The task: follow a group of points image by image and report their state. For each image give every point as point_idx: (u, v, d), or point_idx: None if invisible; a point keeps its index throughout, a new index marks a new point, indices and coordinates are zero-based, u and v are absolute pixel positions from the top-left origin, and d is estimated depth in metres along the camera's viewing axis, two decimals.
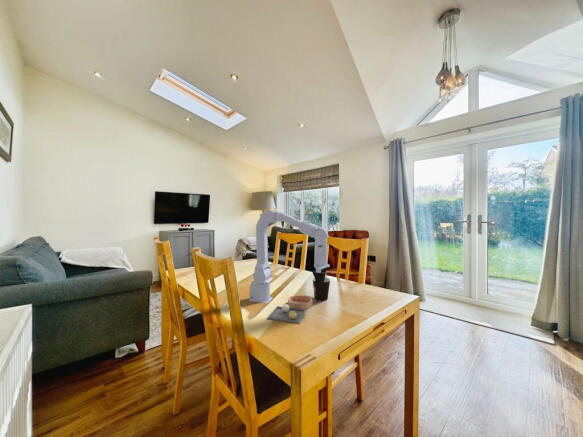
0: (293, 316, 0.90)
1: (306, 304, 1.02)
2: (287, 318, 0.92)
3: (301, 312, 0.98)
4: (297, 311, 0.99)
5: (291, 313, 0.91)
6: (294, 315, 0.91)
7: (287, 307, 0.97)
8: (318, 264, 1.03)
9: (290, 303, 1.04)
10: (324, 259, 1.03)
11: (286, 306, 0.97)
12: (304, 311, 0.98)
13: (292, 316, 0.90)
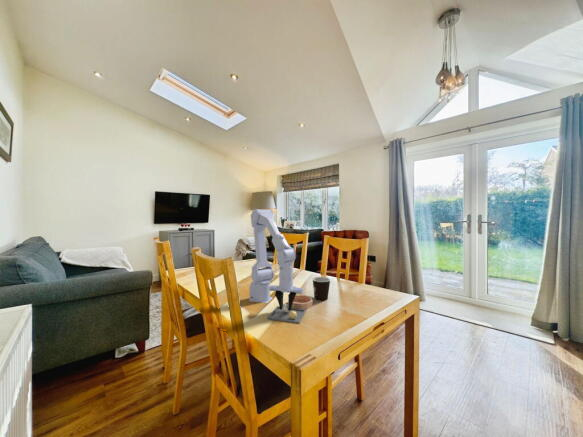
0: (293, 316, 0.90)
1: (306, 304, 1.02)
2: (287, 318, 0.92)
3: (301, 312, 0.98)
4: (297, 311, 0.99)
5: (291, 313, 0.91)
6: (294, 315, 0.91)
7: (287, 307, 0.97)
8: None
9: None
10: (280, 281, 0.97)
11: (286, 306, 0.97)
12: (304, 311, 0.98)
13: (292, 316, 0.90)
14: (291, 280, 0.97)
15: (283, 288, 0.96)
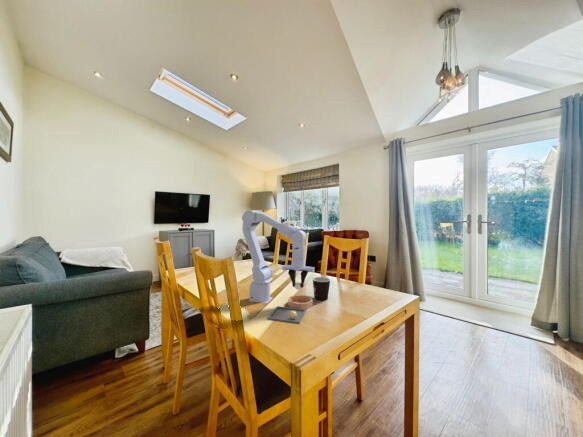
0: (293, 316, 0.90)
1: (306, 304, 1.02)
2: (287, 318, 0.92)
3: (301, 312, 0.98)
4: (297, 311, 0.99)
5: (291, 313, 0.91)
6: (294, 315, 0.91)
7: (299, 285, 1.05)
8: None
9: (290, 303, 1.04)
10: (292, 260, 1.05)
11: (298, 284, 1.05)
12: (304, 311, 0.98)
13: (292, 316, 0.90)
14: (303, 259, 1.04)
15: (296, 266, 1.03)
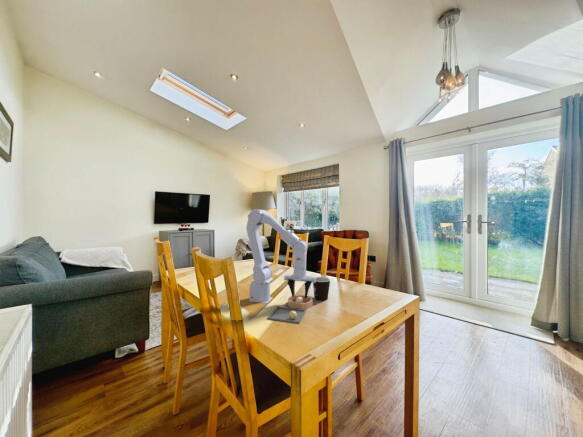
0: (293, 316, 0.90)
1: (306, 304, 1.02)
2: (287, 318, 0.92)
3: (301, 312, 0.98)
4: (297, 311, 0.99)
5: (291, 313, 0.91)
6: (294, 315, 0.91)
7: (301, 299, 1.07)
8: None
9: (290, 303, 1.04)
10: (294, 271, 1.06)
11: (300, 298, 1.07)
12: (304, 311, 0.98)
13: (292, 316, 0.90)
14: (305, 270, 1.06)
15: (297, 277, 1.05)
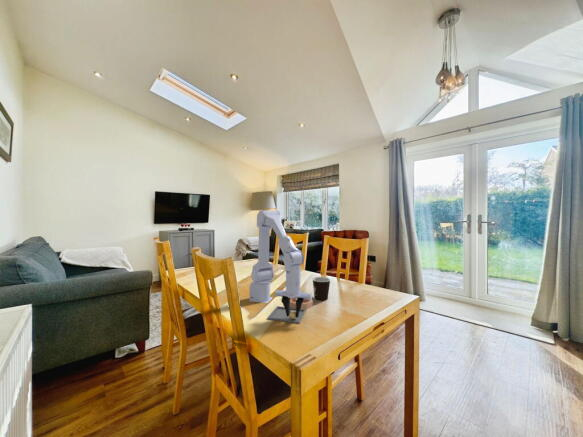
0: (293, 316, 0.90)
1: (306, 304, 1.02)
2: (287, 318, 0.92)
3: (301, 312, 0.98)
4: None
5: (291, 313, 0.91)
6: (294, 315, 0.91)
7: None
8: None
9: (290, 303, 1.04)
10: (286, 286, 0.90)
11: None
12: (304, 311, 0.98)
13: (292, 316, 0.90)
14: (299, 285, 0.90)
15: (290, 293, 0.89)
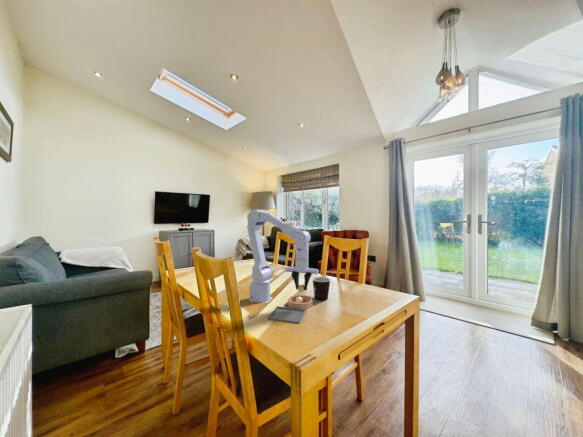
0: (302, 289, 1.01)
1: (306, 304, 1.02)
2: (287, 318, 0.92)
3: (301, 312, 0.98)
4: (297, 311, 0.99)
5: (300, 286, 1.02)
6: (303, 288, 1.02)
7: (300, 299, 1.07)
8: None
9: (290, 303, 1.04)
10: (296, 262, 1.01)
11: (299, 298, 1.07)
12: (304, 311, 0.98)
13: (301, 289, 1.01)
14: (307, 261, 1.01)
15: (299, 268, 1.00)
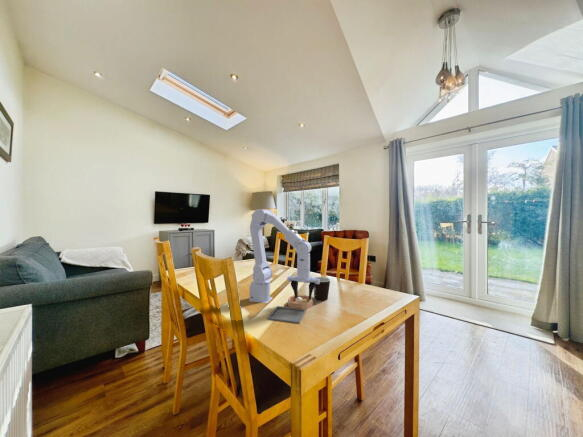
0: None
1: (306, 304, 1.02)
2: (287, 318, 0.92)
3: (301, 312, 0.98)
4: (297, 311, 0.99)
5: None
6: None
7: (300, 299, 1.06)
8: None
9: (290, 303, 1.04)
10: (298, 272, 1.04)
11: (299, 298, 1.07)
12: (304, 311, 0.98)
13: None
14: (308, 271, 1.04)
15: (301, 278, 1.03)
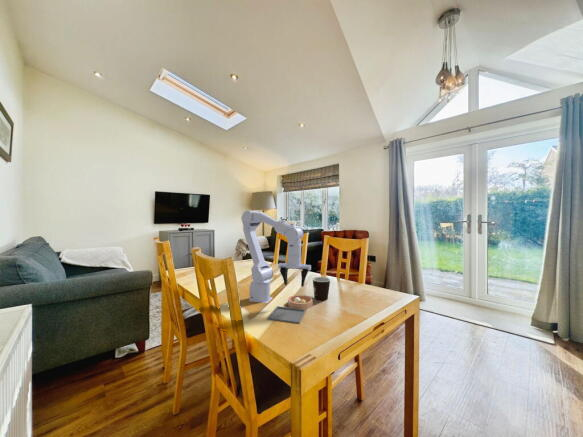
0: None
1: (306, 304, 1.02)
2: (287, 318, 0.92)
3: (301, 312, 0.98)
4: (297, 311, 0.99)
5: None
6: None
7: (298, 300, 1.06)
8: None
9: (290, 303, 1.04)
10: (288, 258, 1.02)
11: (296, 300, 1.06)
12: (304, 311, 0.98)
13: None
14: (299, 257, 1.02)
15: (292, 264, 1.01)
